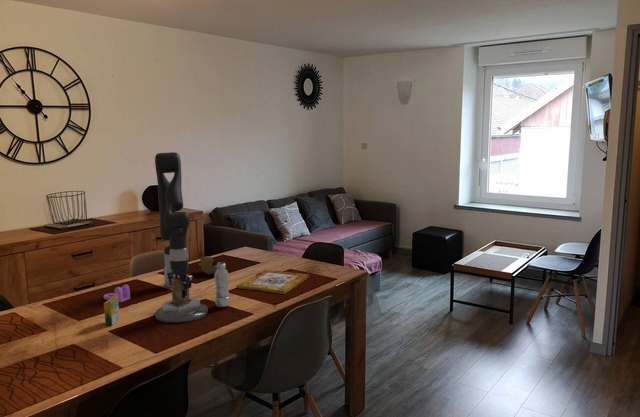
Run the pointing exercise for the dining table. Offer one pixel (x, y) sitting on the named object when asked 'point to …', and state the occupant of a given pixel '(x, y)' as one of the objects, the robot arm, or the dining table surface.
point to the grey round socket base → (181, 312)
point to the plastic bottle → (222, 286)
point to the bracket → (120, 293)
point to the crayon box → (111, 311)
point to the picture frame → (273, 281)
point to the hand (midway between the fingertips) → (181, 296)
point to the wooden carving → (208, 265)
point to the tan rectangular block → (178, 292)
